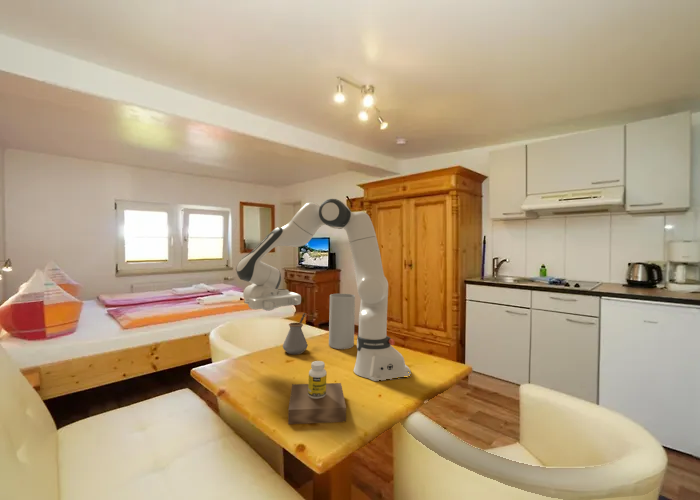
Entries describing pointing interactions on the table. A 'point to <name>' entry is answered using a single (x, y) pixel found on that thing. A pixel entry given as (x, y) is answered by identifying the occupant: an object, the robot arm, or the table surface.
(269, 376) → the table surface
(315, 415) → the walnut plinth
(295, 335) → the coffee pot
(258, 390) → the table surface
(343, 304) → the cylinder vase
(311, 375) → the supplement bottle
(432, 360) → the table surface
